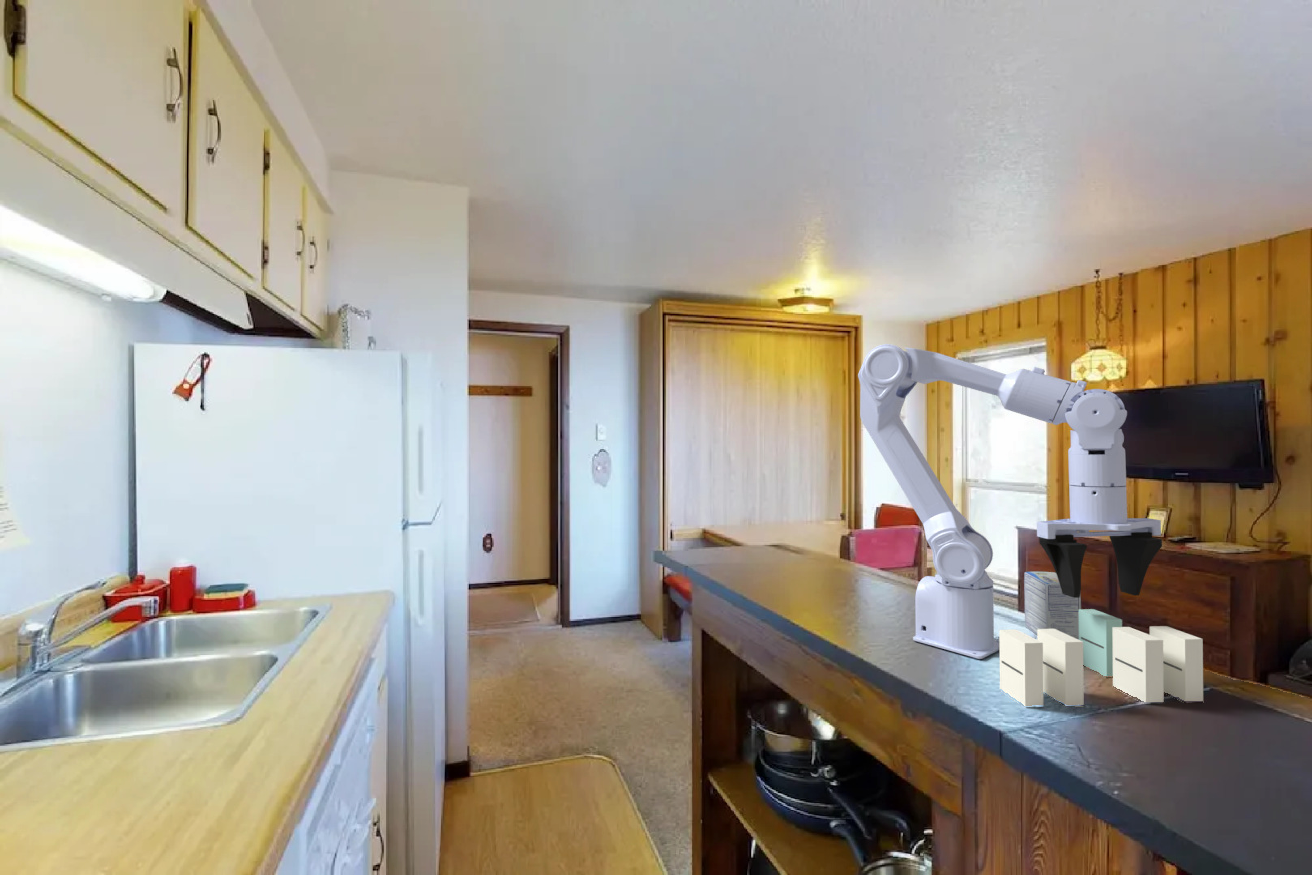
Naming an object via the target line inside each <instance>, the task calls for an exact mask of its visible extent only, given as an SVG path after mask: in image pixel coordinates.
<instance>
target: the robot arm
mask: <svg viewBox="0 0 1312 875" xmlns="http://www.w3.org/2000/svg"><path fill="white" fill-rule="evenodd" d="M904 349H905V350H903V349H902V348H901V347H899V346H897V345H895V344H891V343H884V344H880V345H877V346H875V347H873V348H872V349H871V350H870V351H869V352H868V353H867V354H866V356H865V357H864V359H863V362H862V364H861V367H860V369H859V372H858V374H857V378H858V381H859V386H860V392H859V393H860V395H859V396H860V400H859V401H860V403H859V404H860V406H859V408H860V409H859V410H860V412H859V414H860V420H861V423H862V424H863V426H864V428H865V430H866V431H867V433H868V435H869V436H870V438H871V439H872V441H873V442H874V444H875V446H876V448H877V449H878V451H879V453H880V454H881V457H882V458H883V460H884V461H885V463H886V464H887V466H888V467H889V469H890V471H891V472H892V475H893V476H894V478H895V480H896V481H897V483H898V485H899V486H900V488H901V490H902V491H903V493H904V495H905V497H906V498H907V500H908V502H909V503H910V505H911V507H912V508H913V510H914V512H915V513H916V515H917V516H918V518H919V520H920V521H921V523H922V525H923V528H924V534H925V539H926V540H925V541H926V542H927V543H928V545H929V547H930V550H931V552H932V563H933V566H934V569H935V571H936V574H935V575H934V576H932V575H926V576H924V577H922V578H921V579H920V581H919V582H918V584H917V587H916V589H915V590H916V591H915V600H914V601H915V604H914V605H915V610H914V611H915V635H914V636H913V637H912V640H913V641H915V642H918V643H922V644H925V645H929V646H933V647H935V648H939V649H944V650H945V651H946V650H947V651H950V652H953V653H957V654H960V655H964V656H968V657H970V658H974V659H978V660H982V659H984V658H986V657H988V656H990V655H992V654H994V653H997V652H998V651H1000V641H999V640H997V639H995V638H994V637H995V632H994V630H995V626H994V625H995V622H994V621H995V620H994V618H995V617H994V614H995V613H994V612H995V611H994V580H993V579H992V578H991V577H990V576H989V574H988V573H987V571H986V569H988V567H990V565H991V563H992V561H993V556H994V552H993V547H992V545H991V543H990V541H989V540H988V539H987V538H986V536H984V535H983V534H981V533H980V532H978V531H977V530H975V528H973V527H972V525H971V524H970V522H969V521H968V519H967V518H966V517H965V516H964V515H963V513H961V512H960V511H959V510H958V509H957V507H956V506H955V504H954V502H953V501H952V500H951V498H950V496H949V494H948V493H947V492H946V490H945V488H944V487H943V485H942V484H941V481H939V478H938V477H937V475H936V473H935V472H934V470H933V469H932V467H931V465H930V464H929V463H928V461H927V459H926V458H925V456H924V455H923V453H922V451H921V449H920V448H919V446H918V444H917V443H916V441H915V440H914V438H913V436H912V435H911V433H910V432H909V430H908V429H907V427H906V425H905V423H904V422H903V421H902V419H901V417H900V414H901V412H902V408H903V406H904V404H905V401H906V397H907V396H908V395H909V394H910V393H911V391H912V390H914V387H915V386H916V385H917V383H919V384H923V385H925V384H930V383H935V382H938V381H943V382H947V383H951V384H953V385H956V386H960V387H964V388H968V389H971V390H975V391H979V392H981V393H982V392H983V393H986V394H990V395H992V396H996V397H998V399H999V400H1000V404H1002V406H1003V408H1004V409H1005V410H1007V411H1010V412H1012V413H1016V414H1019V415H1020V414H1021V415H1022V416H1026V417H1028V418H1029V417H1030V418H1032V419H1035V420H1039V421H1041V422H1045V423H1048V424H1050V425H1051V424H1052V425H1055V426H1058V425H1060V424H1062V423H1063V424H1064V423H1065V424H1066V423H1067V424H1068V426H1069V427H1070V431H1069V432H1070V447H1069V448H1068V450H1067V453H1068V454H1067V455H1068V459H1067V460H1068V484H1069V486H1068V487H1069V488H1068V490H1069V491H1068V492H1069V494H1068V495H1069V518H1062V519H1054V520H1041V521H1036V537H1038V541H1039V545H1040V546H1041V548H1042V549H1043V550H1044V552H1045V554H1046V555H1047V556H1048V558H1049V561H1050V562H1051V564H1052V566H1053V570H1054V573H1056V574H1057V577H1058V580H1059V583H1060V586H1061V590H1062V593H1063V594H1065V595H1067V596H1070V597H1073V598H1079V597H1080V593H1081V591H1082V567H1083V561H1084V557H1085V553H1086V551H1087V548H1088V545H1087V544H1086V543H1082V542H1077V539H1074V538H1084V537H1085V538H1087V537H1088V538H1089V537H1091V538H1092V537H1094V538H1095V537H1109V540H1110V542H1111V545H1112V548H1113V551H1114V555H1115V560H1116V563H1117V580H1118V585H1119V591H1120V592H1121V593H1125V594H1128V595H1131V596H1140V595H1141V594H1140V593H1141V590H1142V587H1143V582H1144V579H1145V576H1146V574H1147V572H1148V569H1149V567H1150V565H1151V563H1152V560H1153V559H1154V558H1155V556H1156V555H1157V554H1158V552H1159V551H1160V549H1162V547H1163V539H1162V538H1160V537H1157V536H1162V520H1160V519H1156V518H1147V517H1143V518H1142V517H1141V518H1140V517H1138V518H1135V517H1134V518H1133V517H1131V518H1130V517H1129V518H1128V503H1127V501H1128V500H1127V469H1126V468H1127V467H1126V464H1127V462H1126V449H1125V448H1124V447H1123V444H1124V440H1125V436H1124V433H1123V430H1122V428H1121V427H1122V426H1123V425H1124V423H1125V422H1126V419H1127V416H1128V411H1127V410H1126V409H1125V404H1124V402H1123V401H1122V399H1121V398H1120V397H1119V395H1117V394H1115V393H1113V391H1109V390H1106V389H1102V388H1091V389H1087V390H1086V387H1087V384H1088V383H1087V382H1086V381H1083V380H1080V379H1078V380H1077V382H1075V381H1074V382H1073V381H1069V380H1066V379H1062V378H1059V377H1055V376H1053V375H1052V376H1051V375H1048V374H1045V372H1046V371H1045V369H1044V368H1040V367H1036V366H1034V367H1033V368H1032V370H1031V369H1025V368H1021V369H1018V370H1016V371H1014V372H1013V371H1012V372H1011V373H1008V374H1006V373H1002V372H999V371H996V370H993V369H989V368H986V367H984V366H981V365H977V364H975V363H971V362H967V361H965V360H962V359H959V358H955V357H951V356H949V355H946V354H943V353H939V352H935V351H930V350H923V349H918V348H913V347H907V346H906V347H904ZM1071 429H1072V430H1071ZM1154 536H1155V537H1154Z"/></svg>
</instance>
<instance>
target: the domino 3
mask: <svg viewBox="0 0 1312 875" xmlns="http://www.w3.org/2000/svg"><path fill="white" fill-rule="evenodd" d="M1112 627H1123V619H1121V618H1119V617H1115V616H1113V615H1110V614H1108V613H1105V612H1103V611H1100V610H1097V609H1094V608H1090V609H1089V608H1088V609H1087V608H1085V609H1083V608H1081V609H1079V640H1080V641H1082V642H1083V665H1084V666H1086V667H1089V668H1090V669H1092V670H1094V671H1097V672H1099V673H1100V674H1101V675H1100V674H1099V675H1100V676H1102V675H1103V677H1104V676H1107V677H1108V676H1113V630H1112ZM1084 666H1083V667H1084ZM1086 667H1085V668H1086ZM1090 669H1089V670H1090ZM1092 670H1091V671H1092ZM1094 671H1093V672H1094Z"/></svg>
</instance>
